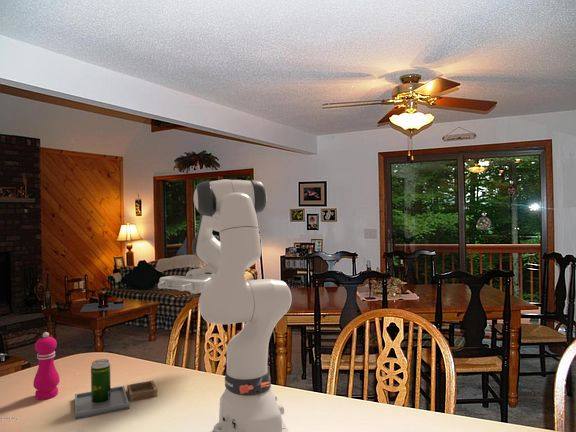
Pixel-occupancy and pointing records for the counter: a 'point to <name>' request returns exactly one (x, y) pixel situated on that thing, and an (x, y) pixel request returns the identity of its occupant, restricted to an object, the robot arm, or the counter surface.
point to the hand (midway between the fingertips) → (169, 287)
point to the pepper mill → (46, 368)
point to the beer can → (100, 382)
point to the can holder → (143, 393)
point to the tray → (87, 408)
